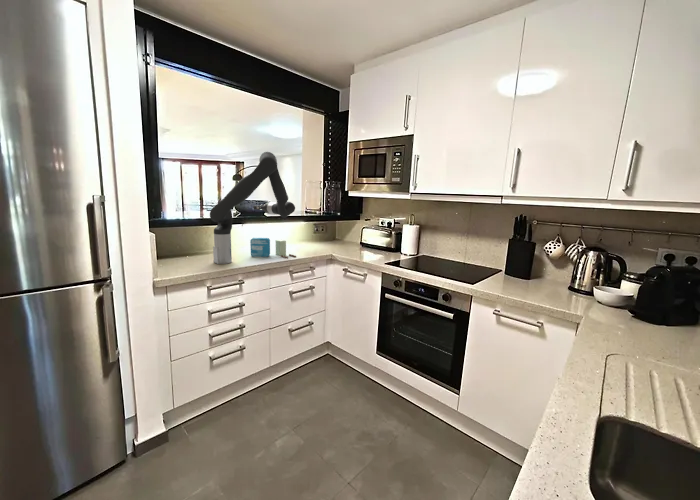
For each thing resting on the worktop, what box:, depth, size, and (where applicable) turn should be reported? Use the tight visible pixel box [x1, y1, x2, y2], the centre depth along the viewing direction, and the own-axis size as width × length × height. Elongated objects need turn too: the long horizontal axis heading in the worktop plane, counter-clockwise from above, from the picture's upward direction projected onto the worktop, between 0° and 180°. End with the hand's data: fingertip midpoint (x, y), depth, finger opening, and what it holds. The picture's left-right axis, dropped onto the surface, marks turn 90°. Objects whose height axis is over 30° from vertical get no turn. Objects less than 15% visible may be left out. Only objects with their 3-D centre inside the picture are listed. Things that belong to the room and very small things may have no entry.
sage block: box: [275, 239, 287, 257], centre depth 213 cm, size 4×6×10 cm
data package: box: [249, 237, 271, 258], centre depth 206 cm, size 12×4×12 cm, turn 98°
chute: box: [280, 253, 297, 259], centre depth 207 cm, size 7×7×1 cm
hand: (259, 207), depth 211 cm, fingers open, 8 cm apart
